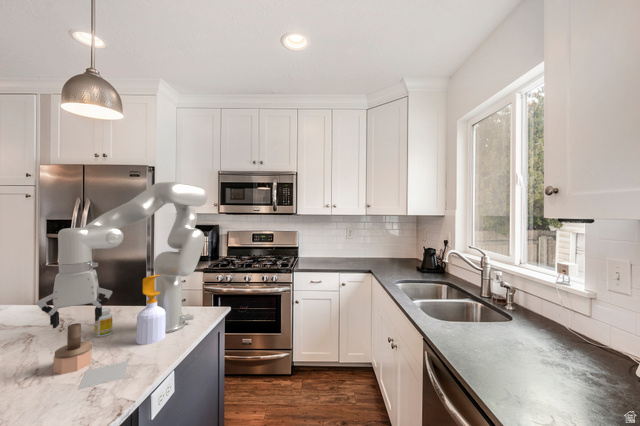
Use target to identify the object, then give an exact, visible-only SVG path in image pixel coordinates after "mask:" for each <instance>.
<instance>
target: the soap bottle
mask: <svg viewBox="0 0 640 426" xmlns="http://www.w3.org/2000/svg"><path fill="white" fill-rule="evenodd" d="M157 276H160V275H149V276H146V277H143V279H142V294H143V295H144V296H147V298H148V300H146V307H144V308H143V309H142V310H141V311H139V312H138V313H137V315H136V344H137V345H141V346H143V345H144V346H145V345H152V344H155V343H158V342H161V341H163V340H164V339H165V338H166V333H165V323H166V312H165V310H164V309H163V308H162V307H159V306H157V299H156V295H157V294H160V292H157V291H156V277H157Z"/></svg>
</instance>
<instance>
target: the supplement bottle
mask: <svg viewBox="0 0 640 426" xmlns="http://www.w3.org/2000/svg"><path fill="white" fill-rule="evenodd" d="M111 311H112V310H111V308H110V307H105V308H102V316H101V317H100V318H99V320H98V321H95V320H94V333H93V335H94V337H96V338H103V337H106V336H109V335H111V334H112V332H113V314H112V313H111Z"/></svg>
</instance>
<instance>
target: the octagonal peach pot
mask: <svg viewBox="0 0 640 426" xmlns="http://www.w3.org/2000/svg"><path fill="white" fill-rule="evenodd" d="M92 349H93V347H92V348H91V349H90V350H89V351H88V352H86V353H84V354H81V355H78V356H75V357H71V358H65V359H57V358H55V357H54V356H53V370H52V372H53V374H58V375H64V374H65V375H66V374H69V373H70V374H71V373H74V372H78V371H79V370H82V369H84V368H86V367H87V366H90V364H91V361H92Z"/></svg>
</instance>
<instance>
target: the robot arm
mask: <svg viewBox="0 0 640 426" xmlns="http://www.w3.org/2000/svg"><path fill="white" fill-rule="evenodd" d="M207 202H208V193H207V191H206V190H205V189H204V188H203V187H201V186H197V185H190V184H186V183H181V182H175V181H166V182H165V181H163V182H156V183H154V184H152V185H151V186H149V187H148V188H146V189H145V190H143V191H142V192H140V193H139V194H138V195H137V196H135V197H134V198H132V199H131V200H129V201H128V202H125V203H123V204H121V205H119V206H117V207H115V208H113V209H111V210H109V211H107V212H104V213H103V214H101V215H99V216H98V217H96V218H95V219H93V220H92V221H91V222H89V223H88V224H86V225H85V226H83V227H69V228H68V227H67V228H62V229H60V230H59V231H58V234H57V241H58V242H57V243H58V244H57V245H58V273H57V274H56V275H55V278H54V285H53V292H52V293H51V294H49V295H48V296H46V297H45V296H44V297H43V298H41V299H39V300H37V301H36V305H37V306H38V307H39V308H40V309H41V311H42V312H44V313H46V314H47V315H48V316H49V322H50V323H49V324H50V326H52V329H57V328H58V326H59V325H60V312H59V311H58V310H59V309H61V308H68V307H75V306H83V305H87V304H88V305H89V304H92V305H93V306H95V307H94V322H95V321H98V320H99V318H100V317H101V316H102V309H103V305H105V304H106V303H107V302H108V301H109V299H110V297H112V294H113V291H112V290H110V289H106V288H102V287H100V285H99V279H98V273H97V271H96V269H94V268H97V267H99V262H94V261H93V253H92V251H93V250H96V249H97V250H102V249H104V250H107V249H112V248H116V247H118V246H120V244H122V242H123V241H124V232H123V231H122V230H121V229H122V228H124V227H127V226H128V225H133V224H137V223H141V222H143V221H145V220H147V219H149V218H150V217H151V216H153V215H154V214H155V213H156V212H158V211H159V210H160V209H162V208H163V207H164V206H165V205H167V204H173V206H174V207H175V211H176V216H175V220H174V223H173V225H172V227H171V230H170V232H169V233H168V237H167V240H166V241H167V245H168V247H170V248H171V249H173V250H180V251H171V250H170V251H169V250H168V251H167V250H166V251H163V252H160V253H159V254H158V255H156V257H155V259H154V262H153V270H154V274H155V275H160V276H157V277H155V291H157V292H160V294H157V295H156V296H155V299H157V306H159V307H162V308H163V309H164V310H165V312H166V323H165V334H167V333H172V332H176V331H178V330H180V329H182V328H184V327H185V326H186V321H191V320H194V314H191V313H187V314H183V312H182V311H183V310H182V304H183V303H182V302H183V301H182V299H183V298H182V295H183V282H182V281H183V280H182V277H188V276H190V275H192V274H193V272H194V271H195V270H196V268H197V267H198V266H197V265H198V263H199V261H200V258H201V255H202V252H203V250H204V246H205V243H206V242H205V240H206V238H205V234H204V232H203V231H202V230H201V229H198V228H196V225H197V221H198V215H197V212H196V210H195V207H197V208H198V207H202V206H204V205H205V204H206V203H207ZM100 294H101V295H105V296H104V297H103V298H102V299H99V296H100ZM51 300H52V305H53V307H52V306H50V305H48V304H47V302H49V301H51ZM190 314H191V315H190Z"/></svg>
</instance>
